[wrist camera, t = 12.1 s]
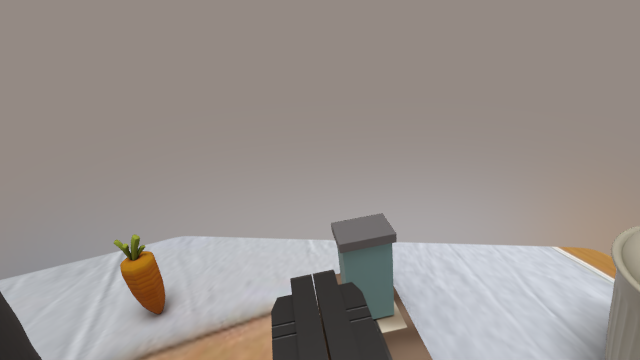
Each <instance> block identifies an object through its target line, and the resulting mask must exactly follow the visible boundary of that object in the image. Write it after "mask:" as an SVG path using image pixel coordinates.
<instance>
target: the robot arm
mask: <svg viewBox="0 0 640 360" xmlns="http://www.w3.org/2000/svg"><path fill="white" fill-rule="evenodd" d="M313 278H314V284H315V290H316V295H315V290H314V285H313V281H312V276H311V274H310V275H305V276H301V277H296V278H291V289H292V295H288V296H283V297H279V298H277V300H276V302H275V304H274V306H273V309H272V311H271V315H272V340H273V341H272V350H273V360H389V358H388V356H387V353H386V351H385V348H384V346H383V343H382V341H381V338H380V336H379V333H378V330H377V328H376V325H375V323H374V320H373V318H372V316H371V313H370V310H369V308H368V306H367V303H366V300H365V298H364V295H363V293H362V291H361V290H360V289H359V288H358V287H357V286H356V285H355V284H354V283H352V282H349V283H344V284H339V285H338V282H337V279H336V275H335V272H334V270H329V271H324V272H319V273H315V274H313ZM316 296H317V300H316ZM317 302H318V305H317ZM318 308H319V310H318ZM319 314H320V315H319ZM320 319H321V320H320ZM321 324H322V325H321ZM0 360H42V359H41V357H40V356H39V355H38V353H37V352H36V351H35V349H34V348H33V346H32V344H31V343H30V341H29V339H28V337H27V335H26V333H25V331H24V329H23V327H22V325H21V323H20V321H19V320H18V318H17V316H16V315H15V313H14V312H13V310H12V309H11V307H10V306H9V304H8V303H7V301H6V300H5V298H4V297H3V295H2V294H1V292H0Z"/></svg>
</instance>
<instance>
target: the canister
mask: <svg viewBox="0 0 640 360" xmlns="http://www.w3.org/2000/svg"><path fill="white" fill-rule="evenodd" d="M611 255H612V259H613V262H614V265H615V267H616V269H617V270H616V276H615V282H614V289H613V296H612V302H611V309H610V315H609V322H608V330H607V339H606V349H605V360H640V226H637V227H634V228H631V229H628V230H626V231H624V232H623V233H621V234H620V235H619V236H618V237H617V238H616V239H615V240H614V242H613V245H612V249H611Z"/></svg>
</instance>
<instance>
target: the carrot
mask: <svg viewBox="0 0 640 360" xmlns="http://www.w3.org/2000/svg"><path fill="white" fill-rule="evenodd" d="M139 241H140V238H139V236H137V235H133V236H132V239H131V253H130V251H129V247H128V244H124V245H123V244H122V243H121V242H120V241H118V240H115V241H114V244H115V245H116V246H118V247H119V248H120V249H121V250H122V251H123V252H124V253H125V255H126V256H127V258H126V259H125V260H124V261H123V262H122V263H121V264H120V267H121V273H122V276H123V278H124V280H125V282H126V283H127V285H128V287H129V289H130V291H131V292H132V294H133V295H134V297H135V298H136V299H137V300H138V301H139V302H140V304H141V305H142V306H143V307H145V308H146V309H148V310H149V311H151V312H153V313H156V314H160V313H161V312H162V311H163V308H164V304H165V290H164V284H163V280H162V277H161V274H160V271H159V268H158V265H157V263H156V260H155V257H154V255H153V253H152V252H148V251H143V249H144V248H145V245H142V246H140V247H139V249H138V245H139ZM137 250H138V251H137Z"/></svg>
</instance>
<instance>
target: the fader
mask: <svg viewBox="0 0 640 360" xmlns="http://www.w3.org/2000/svg"><path fill="white" fill-rule="evenodd" d="M331 227H332V232H333V235H334V238H335V241H336V244H337V248H338V256H339V265H340V273H341V281H342V284H344V283H349V282H352V283H354V284H355V285H356V286H357V287H358V288H359V289H360V290H361V291H362V293H363V295H364V298H365V300H366V303H367V306H368V308H369V310H370V313H371V316H372V318H373V319H377V318H381V317H386V316H390V315H394V291H393V258H392V243H395V242H396V232H395V231H394V230H393V228H392V227H391V225H390V224H389V222H388V221H387V219H386V218H385V216H384V215H383V214H382V213H381V214H377V215H371V216H366V217H360V218H355V219H350V220H345V221H340V222H335V223H331Z"/></svg>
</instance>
